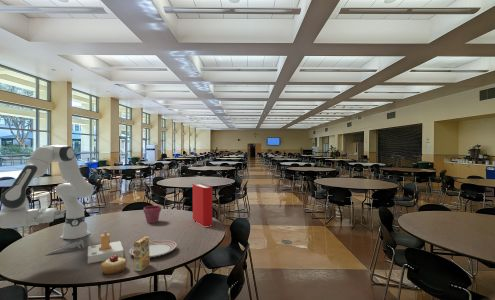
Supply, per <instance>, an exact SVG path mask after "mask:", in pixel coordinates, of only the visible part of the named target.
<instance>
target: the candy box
mask: <svg viewBox="0 0 495 300" xmlns="http://www.w3.org/2000/svg"><path fill="white" fill-rule="evenodd" d="M149 241H150V237H149V236H141V237H140V238H138V239H137V240H135V241H134V242H133V247H134V255H133V265H134V266H133V267H134V268H133V270H134V272H142V271H143V270H145V269H146V268H147V267H149V266H150V263H151V261H150V259H151V258H150V256H149Z"/></svg>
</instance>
